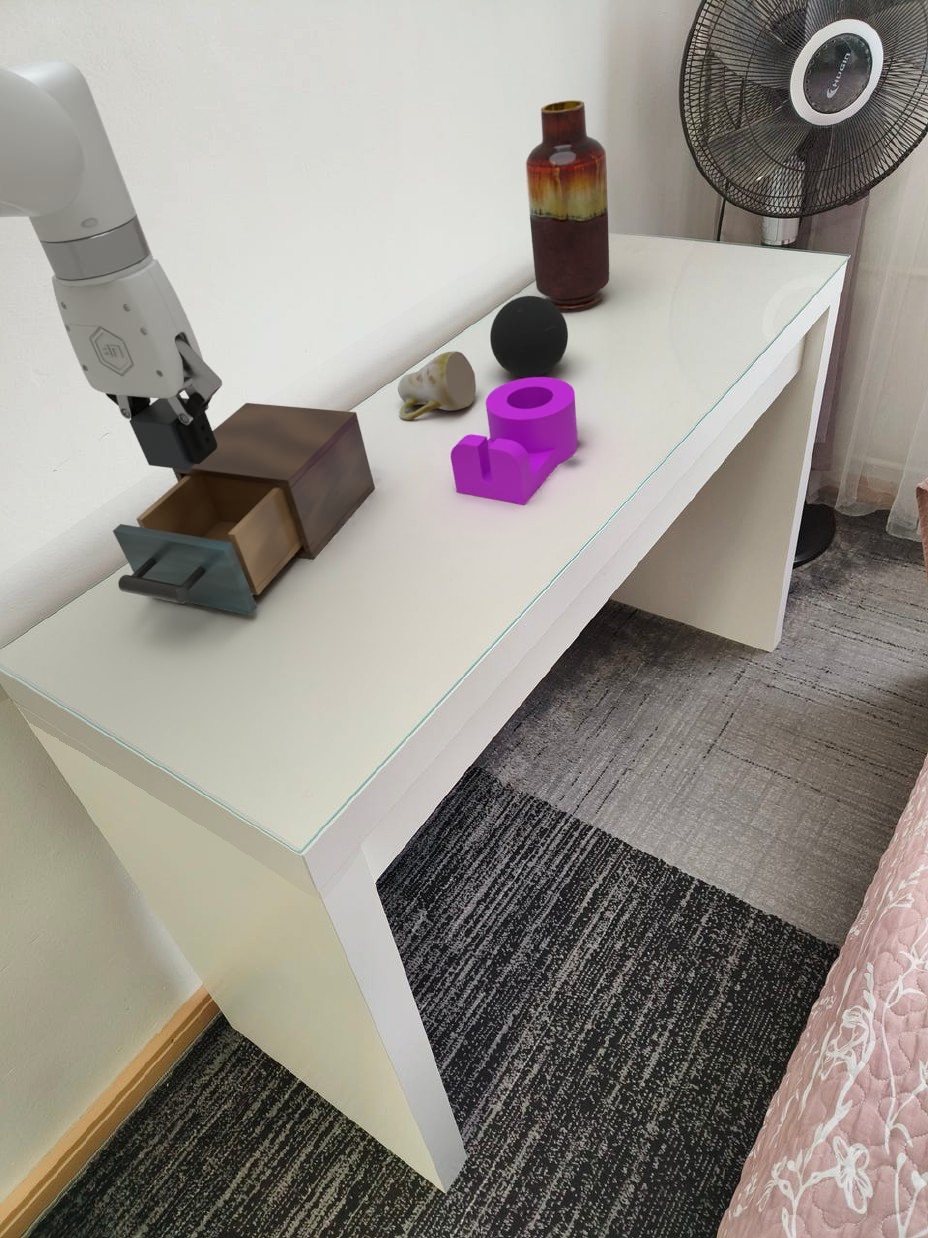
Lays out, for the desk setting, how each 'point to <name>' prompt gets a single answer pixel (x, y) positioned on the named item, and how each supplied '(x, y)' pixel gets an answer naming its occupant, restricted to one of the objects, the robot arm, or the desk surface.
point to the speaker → (529, 336)
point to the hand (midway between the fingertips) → (181, 451)
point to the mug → (438, 385)
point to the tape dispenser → (518, 440)
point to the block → (161, 436)
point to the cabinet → (296, 463)
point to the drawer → (210, 543)
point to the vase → (568, 210)
